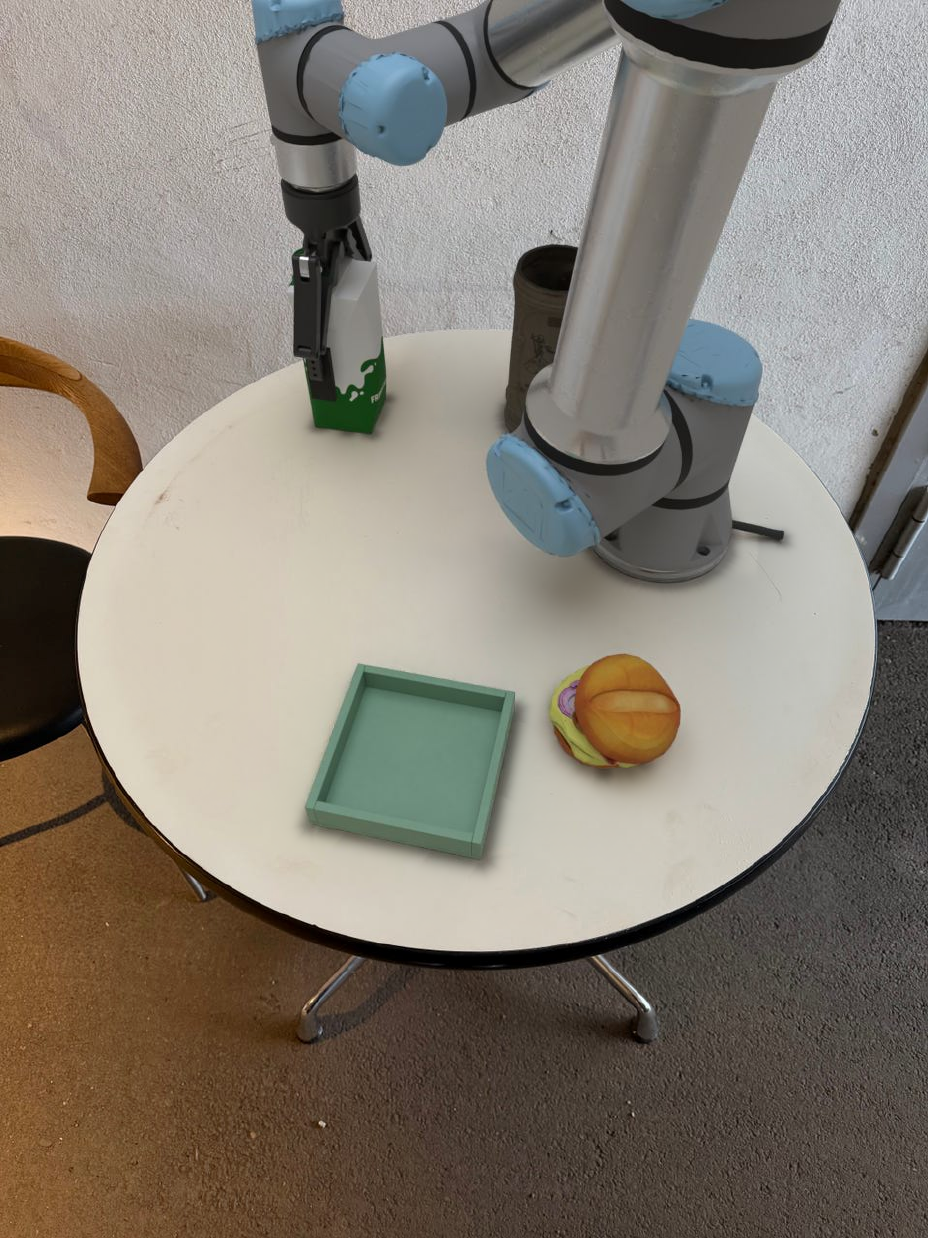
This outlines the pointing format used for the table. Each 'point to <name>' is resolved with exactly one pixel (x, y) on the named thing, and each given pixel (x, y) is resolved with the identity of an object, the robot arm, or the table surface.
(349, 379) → the soya milk
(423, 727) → the tray
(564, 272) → the beer stein
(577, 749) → the cheeseburger
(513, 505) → the robot arm
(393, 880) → the table surface
